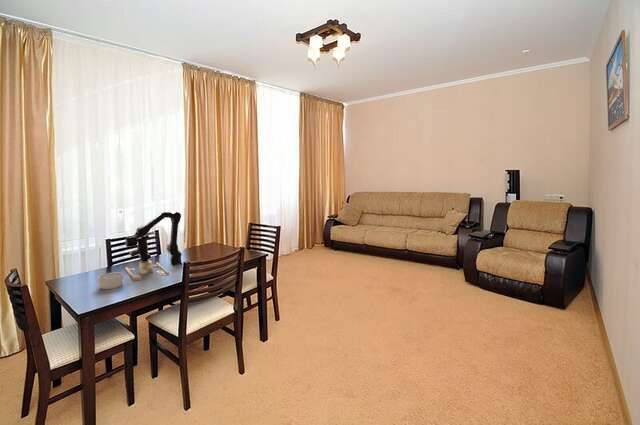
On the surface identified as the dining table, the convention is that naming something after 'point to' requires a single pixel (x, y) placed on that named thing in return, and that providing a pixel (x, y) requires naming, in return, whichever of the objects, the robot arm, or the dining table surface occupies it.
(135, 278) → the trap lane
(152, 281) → the dining table surface
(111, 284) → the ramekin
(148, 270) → the maple block
